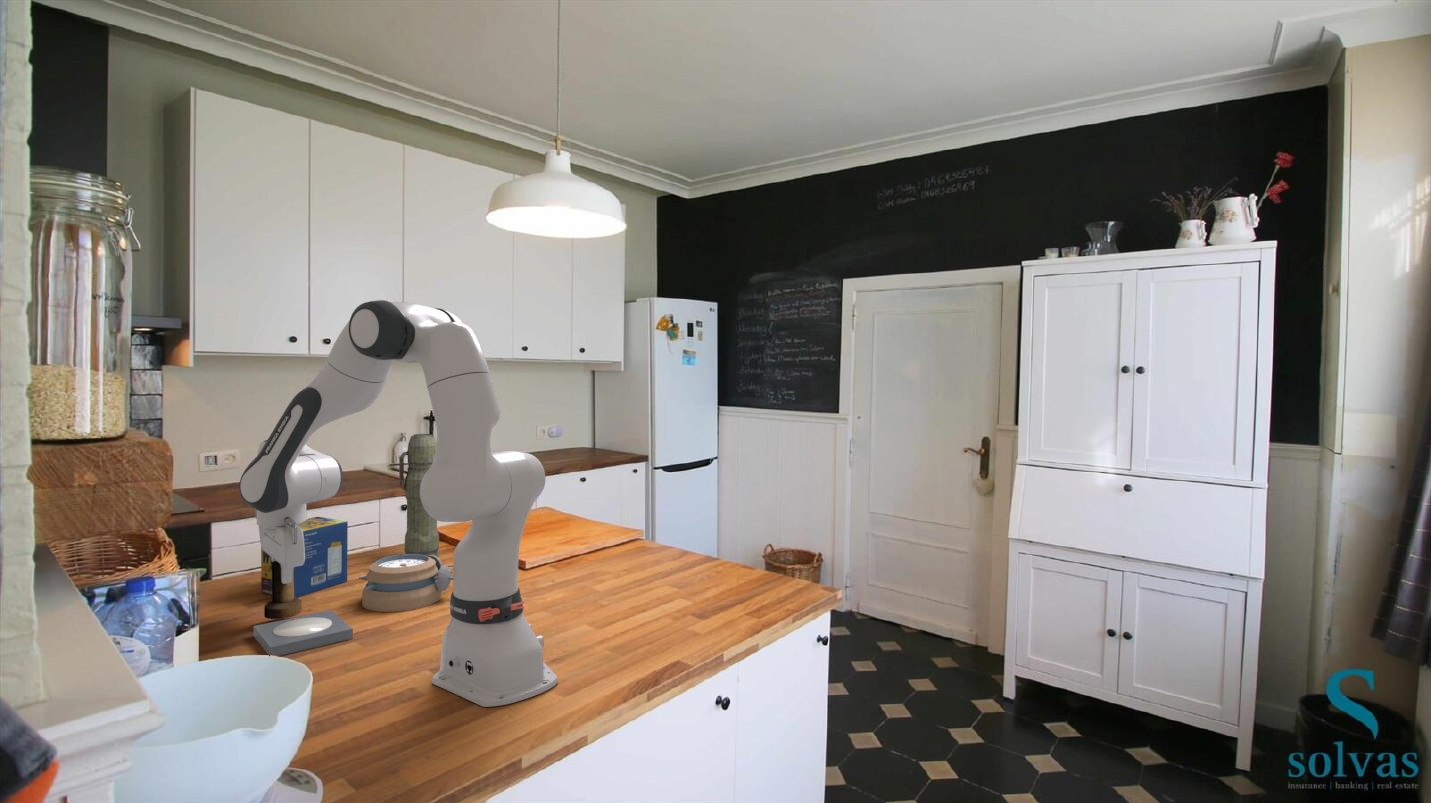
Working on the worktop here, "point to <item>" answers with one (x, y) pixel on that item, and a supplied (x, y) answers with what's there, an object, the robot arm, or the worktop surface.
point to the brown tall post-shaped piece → (281, 597)
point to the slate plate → (302, 633)
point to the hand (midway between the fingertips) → (282, 579)
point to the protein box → (315, 557)
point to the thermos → (418, 496)
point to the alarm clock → (405, 582)
